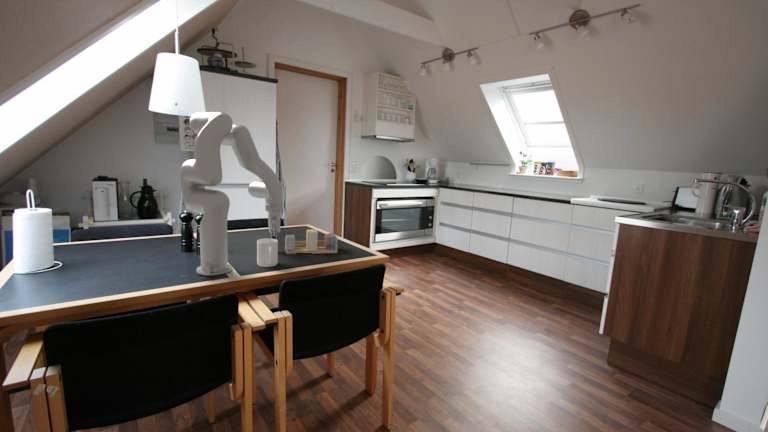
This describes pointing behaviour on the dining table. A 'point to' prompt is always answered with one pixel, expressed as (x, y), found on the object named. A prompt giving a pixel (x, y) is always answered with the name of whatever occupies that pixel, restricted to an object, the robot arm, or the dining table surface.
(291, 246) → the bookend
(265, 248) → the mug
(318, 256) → the dining table surface
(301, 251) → the rack
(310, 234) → the book
